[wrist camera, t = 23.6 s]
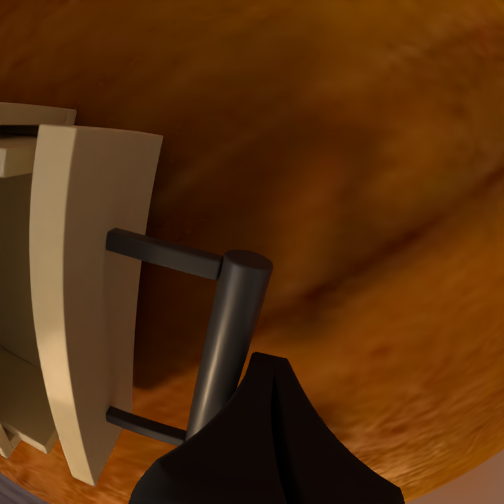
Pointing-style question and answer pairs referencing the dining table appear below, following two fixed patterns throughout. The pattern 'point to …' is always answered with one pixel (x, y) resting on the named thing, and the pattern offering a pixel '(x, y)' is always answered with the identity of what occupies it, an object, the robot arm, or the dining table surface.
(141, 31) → the dining table surface
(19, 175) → the drawer
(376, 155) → the dining table surface
